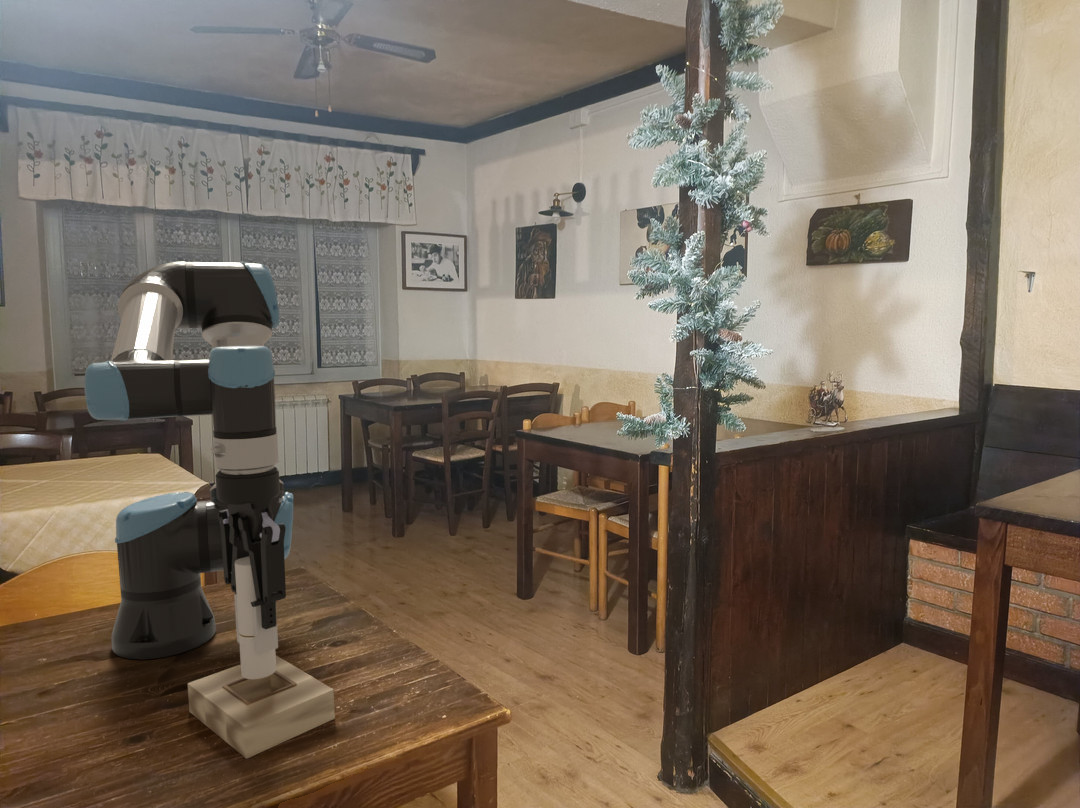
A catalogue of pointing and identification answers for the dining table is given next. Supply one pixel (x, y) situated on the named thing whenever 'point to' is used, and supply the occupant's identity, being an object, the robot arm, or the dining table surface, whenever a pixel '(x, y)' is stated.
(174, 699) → the dining table surface
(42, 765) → the dining table surface
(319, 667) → the dining table surface
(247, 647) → the tube
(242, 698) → the socket board
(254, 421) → the robot arm
